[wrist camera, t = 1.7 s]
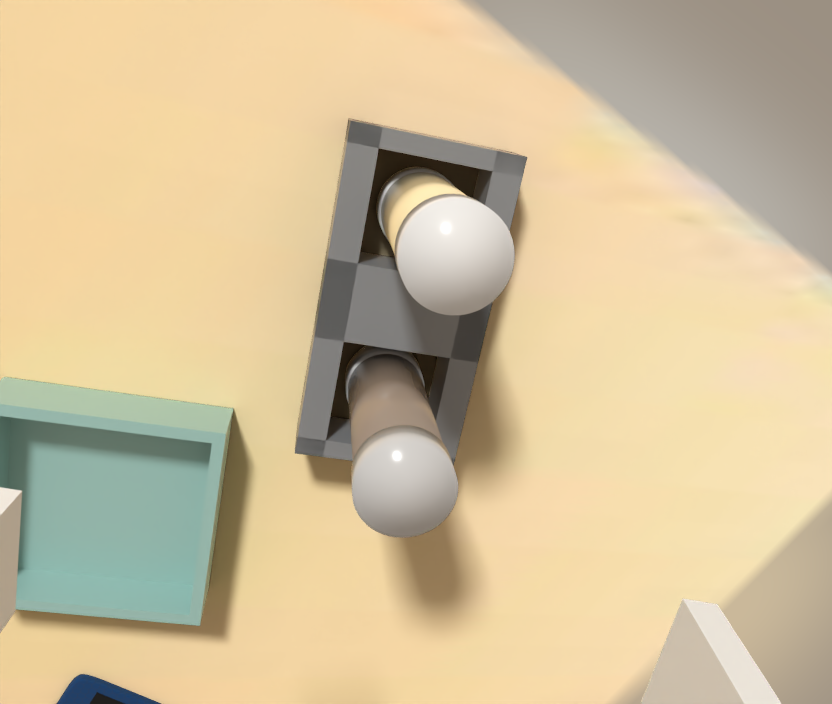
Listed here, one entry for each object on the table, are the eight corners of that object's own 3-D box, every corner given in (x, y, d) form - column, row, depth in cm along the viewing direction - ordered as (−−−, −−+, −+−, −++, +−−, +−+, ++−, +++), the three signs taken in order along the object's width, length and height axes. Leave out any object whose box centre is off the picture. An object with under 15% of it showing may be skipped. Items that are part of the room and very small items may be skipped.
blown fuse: (412, 417, 40) (446, 542, 29) (339, 407, 40) (344, 531, 29) (427, 348, 39) (468, 450, 28) (352, 336, 39) (362, 436, 27)
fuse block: (442, 447, 41) (451, 473, 38) (297, 427, 40) (294, 453, 37) (511, 152, 36) (527, 157, 34) (348, 118, 35) (350, 120, 32)
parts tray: (208, 589, 42) (199, 625, 40) (-4, 568, 41) (-29, 605, 38) (233, 408, 39) (225, 433, 36) (4, 376, 37) (-24, 400, 34)
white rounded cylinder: (447, 255, 38) (499, 323, 27) (369, 241, 37) (388, 305, 26) (465, 175, 37) (526, 211, 25) (384, 159, 36) (411, 189, 25)
